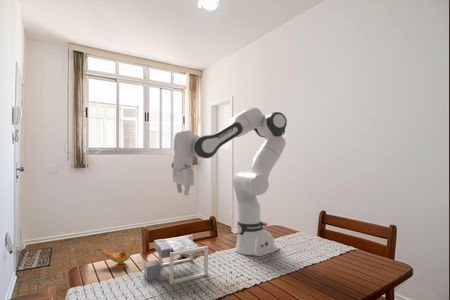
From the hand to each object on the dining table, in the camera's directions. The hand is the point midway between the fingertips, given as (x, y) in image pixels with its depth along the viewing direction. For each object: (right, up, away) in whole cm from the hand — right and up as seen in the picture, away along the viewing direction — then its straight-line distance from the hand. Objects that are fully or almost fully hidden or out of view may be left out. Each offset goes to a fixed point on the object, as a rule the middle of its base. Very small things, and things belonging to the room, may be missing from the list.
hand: (182, 193), depth 119 cm
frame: (+2, -29, -16) cm, 33 cm away
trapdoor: (0, -20, -17) cm, 26 cm away
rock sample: (+3, -30, 0) cm, 30 cm away
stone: (-9, -29, -20) cm, 36 cm away
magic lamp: (-27, -29, -11) cm, 41 cm away
